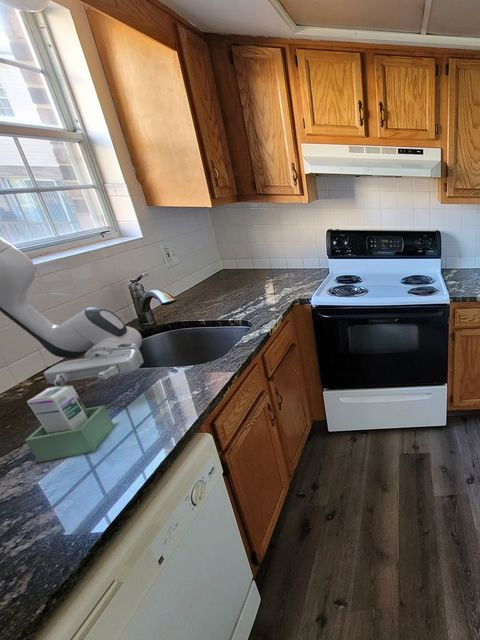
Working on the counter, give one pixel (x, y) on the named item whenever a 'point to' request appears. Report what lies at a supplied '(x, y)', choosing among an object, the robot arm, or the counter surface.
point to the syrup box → (59, 409)
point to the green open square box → (71, 437)
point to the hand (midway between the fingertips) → (79, 380)
